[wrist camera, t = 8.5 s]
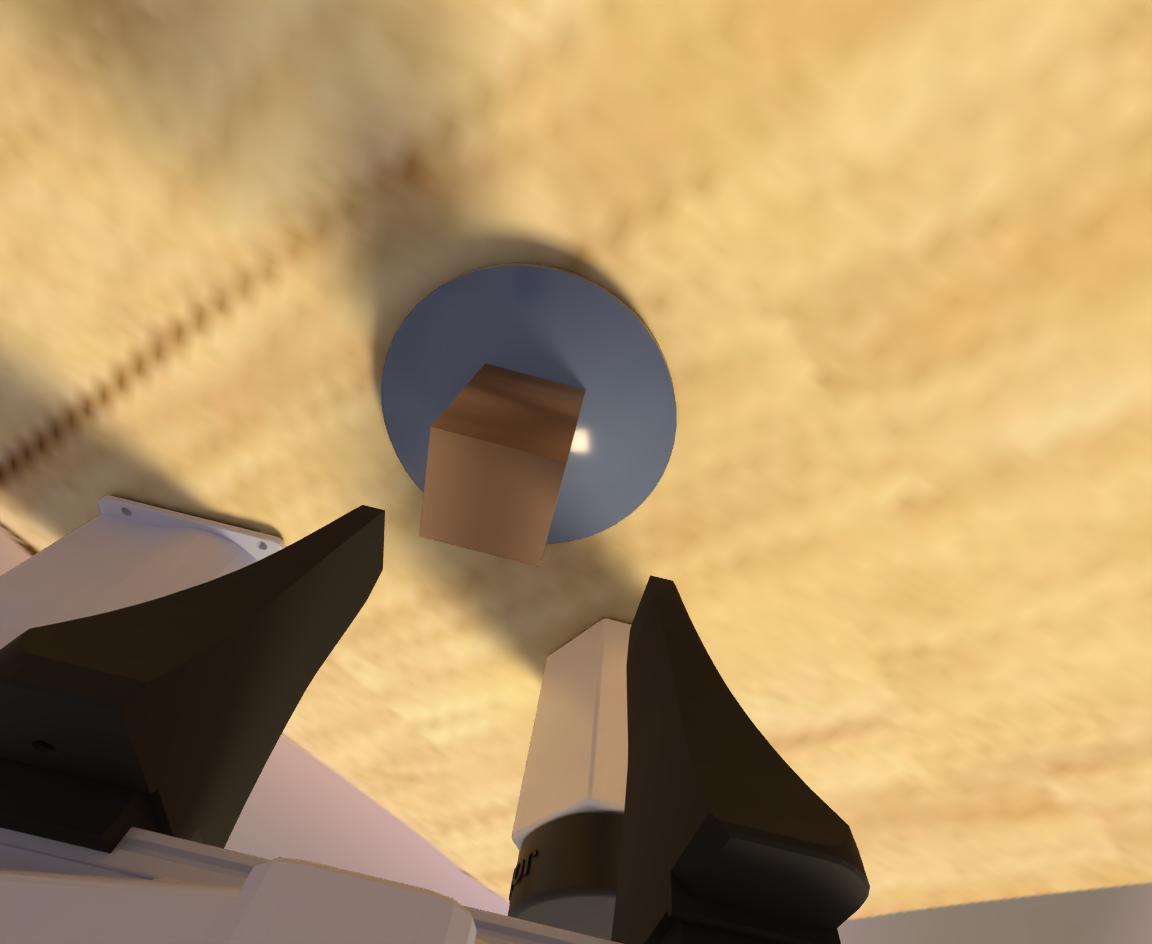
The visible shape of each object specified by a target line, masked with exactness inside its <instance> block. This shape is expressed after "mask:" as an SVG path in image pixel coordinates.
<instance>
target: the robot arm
mask: <svg viewBox="0 0 1152 944" xmlns="http://www.w3.org/2000/svg"><path fill="white" fill-rule="evenodd" d="M98 506H99V510H100V513H101V514H100V515H99V516H97V517H95V518H94V519H92V520H90V521H89V522H87V523H86V524H84V525H82V526H81V527H79V528H77V529H76V530H74V531H73V532H71V533H69V534H68V535H66V536H65V537H63V538H61V539H60V540H58V541H56V542H55V543H53V544H52V545H50V546H48V547H47V548H45V549H43V550H42V551H40V552H39V553H37V554H35V555H34V556H32V557H30V558H29V559H27V560H26V561H24V562H22V563H21V564H19V565H17V566H16V567H14V568H13V569H11V570H9V571H8V572H6V573H5V574H3V575H1V576H0V944H841V942H840V939H839V934H838V931H837V928H838V927H839V926H840V925H841V924H842V923H843V922H844V921H846V920H847V919H848V918H849V917H850V916H851V915H852V914H854V913H855V912H856V911H857V910H858V909H859V908H860V907H861V906H862V904H863V903H864V902H865V900H866V899H867V897H868V894H869V889H870V885H869V882H868V879H867V876H866V873H865V870H864V867H863V863H862V860H861V857H860V854H859V850H858V848H857V845H856V843H855V840H854V838H853V835H852V833H851V830H850V828H849V825H848V824H846V823H845V822H844V821H843V820H842V819H841V818H840V817H839V816H838V815H837V814H836V813H835V812H834V811H833V810H832V809H831V808H830V807H829V806H828V805H827V804H826V803H825V802H824V801H823V800H821V799H820V798H819V797H818V796H817V795H816V794H815V793H814V792H813V791H812V790H811V789H810V788H809V787H808V786H807V785H806V784H805V783H804V782H803V781H802V779H801V778H800V777H799V776H798V775H797V774H796V773H795V772H794V771H793V770H792V769H791V768H790V767H789V765H788V764H787V763H786V762H785V761H784V760H783V759H782V758H781V756H780V755H779V754H778V753H777V752H776V751H775V750H774V748H773V747H772V746H771V745H770V744H769V742H768V741H767V740H766V739H765V737H764V736H763V735H762V734H761V732H760V731H759V730H758V729H757V728H756V726H755V725H754V724H753V722H752V721H751V720H750V718H749V717H748V716H747V714H746V713H745V712H744V710H743V709H742V707H741V706H740V705H739V703H738V702H737V700H736V699H735V697H734V696H733V695H732V693H731V692H730V690H729V688H728V687H727V685H726V684H725V682H724V681H723V679H722V677H721V676H720V674H719V672H718V670H717V669H716V667H715V665H714V664H713V662H712V660H711V658H710V656H709V655H708V653H707V651H706V649H705V647H704V645H703V643H702V641H701V639H700V637H699V636H698V634H697V632H696V630H695V628H694V626H693V623H692V621H691V619H690V617H689V615H688V613H687V611H686V608H685V606H684V604H683V602H682V599H681V597H680V595H679V592H678V590H677V588H676V585H675V584H674V582H673V581H671V580H667V579H663V578H659V577H655V576H650V578H649V581H648V583H647V586H646V589H645V591H644V594H643V596H642V599H641V602H640V604H639V607H638V610H637V612H636V615H635V617H634V620H633V623H632V625H631V628H630V634H629V643H628V653H627V664H626V675H627V722H628V768H627V782H626V795H625V808H624V819H623V831H622V842H621V853H620V863H619V873H618V882H617V892H616V901H615V910H614V919H613V927H612V936H611V941H610V940H605V939H601V938H597V937H593V936H589V935H584V934H580V933H576V932H572V931H568V930H563V929H559V928H555V927H551V926H547V925H542V924H538V923H534V922H530V921H526V920H521V919H517V918H513V917H509V916H505V915H500V914H496V913H492V912H488V911H484V910H479V909H475V908H471V907H467V906H462V905H461V904H459V903H458V902H457V901H455V900H454V899H453V898H450V897H447V896H444V895H442V894H439V893H436V892H434V891H431V890H428V889H423V888H420V887H415V886H411V885H407V884H403V883H399V882H395V881H390V880H386V879H382V878H378V877H373V876H369V875H365V874H361V873H357V872H352V871H348V870H344V869H340V868H336V867H332V866H327V865H323V864H319V863H315V862H310V861H306V860H299V859H290V858H281V857H279V858H276V859H272V860H269V859H265V858H261V857H256V856H252V855H248V854H244V853H240V852H236V851H231V850H227V849H224V847H225V845H226V843H227V841H228V838H229V836H230V834H231V832H232V830H233V828H234V826H235V824H236V822H237V820H238V818H239V815H240V813H241V811H242V809H243V807H244V805H245V803H246V801H247V799H248V797H249V795H250V793H251V791H252V789H253V787H254V785H255V783H256V781H257V779H258V777H259V775H260V774H261V772H262V769H263V768H264V765H265V764H266V762H267V759H268V758H269V756H270V754H271V752H272V750H273V749H274V746H275V745H276V743H277V741H278V739H279V737H280V735H281V734H282V732H283V730H284V728H285V726H286V724H287V722H288V721H289V719H290V717H291V715H292V713H293V712H294V710H295V708H296V706H297V705H298V703H299V701H300V699H301V697H302V696H303V694H304V692H305V690H306V689H307V687H308V685H309V684H310V682H311V681H312V679H313V678H314V676H315V674H316V673H317V671H318V670H319V668H320V667H321V666H322V664H323V663H324V661H325V660H326V658H327V657H328V656H329V654H330V653H331V651H332V650H333V648H334V647H335V646H336V644H337V643H338V641H339V640H340V638H341V637H342V636H343V634H344V633H345V631H346V630H347V628H348V627H349V626H350V624H351V623H352V621H353V620H354V618H355V617H356V615H357V614H358V613H359V611H360V610H361V608H362V607H363V605H364V604H365V602H366V601H367V599H368V597H369V595H370V593H371V591H372V589H373V587H374V586H375V584H376V582H377V580H378V578H379V576H380V574H381V572H382V570H383V550H384V523H385V510H381V509H377V508H373V507H369V506H365V505H362V506H360V507H358V508H356V509H354V510H352V511H351V512H349V513H347V514H345V515H344V516H342V517H340V518H338V519H337V520H335V521H333V522H331V523H330V524H328V525H326V526H324V527H323V528H321V529H319V530H317V531H315V532H314V533H312V534H310V535H308V536H306V537H304V538H303V539H301V540H299V541H297V542H295V543H293V544H291V545H289V546H287V547H285V543H284V542H283V540H281V539H280V538H278V537H276V536H272V535H268V534H264V533H260V532H256V531H252V530H248V529H244V528H240V527H236V526H232V525H228V524H224V523H220V522H215V521H211V520H207V519H203V518H199V517H195V516H191V515H187V514H183V513H179V512H175V511H171V510H167V509H163V508H159V507H155V506H151V505H147V504H143V503H139V502H135V501H131V500H127V499H123V498H119V497H115V496H110V495H107V496H104V497H102V498H101V499H99V501H98ZM263 542H264V543H265V544H264V543H263Z"/></svg>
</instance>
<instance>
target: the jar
mask: <svg viewBox="0 0 1152 944" xmlns="http://www.w3.org/2000/svg"><path fill="white" fill-rule="evenodd" d="M630 628H631V624H627V623H623V622H620V621H616V620H612V619H608V618H604V619H602V620H600V621H599V622H597V623H596V624H595V625H593V626H592V627H590V628H589V629H587V630H586V631H584V632H583V633H581V634H580V635H579V636H577V637H576V638H574V639H573V640H571V641H570V642H568V643H567V644H565V645H564V646H562V647H561V648H559V649H558V650H557V651H555V652H554V653H552V654H551V655H549V656H548V657H547V660H546V665H545V670H544V675H543V680H542V685H541V690H540V695H539V700H538V705H537V711H536V716H535V721H534V726H533V731H532V736H531V741H530V746H529V751H528V756H527V761H526V766H525V771H524V776H523V781H522V786H521V791H520V796H519V801H518V806H517V811H516V816H515V821H514V826H513V831H512V840H513V841H514V843H515V845H516V846H517V848H518V849H519V857H518V862H517V866H516V868H515V869H514V873H513V879H512V884H511V889H510V896H509V900H510V902H509V903H510V906H509V912H508V916H509V917H513V918H517V919H521V920H526V921H530V922H534V923H538V924H542V925H547V926H551V927H555V928H559V929H563V930H568V931H572V932H576V933H580V934H584V935H589V936H593V937H597V938H601V939H605V940H610V941H611V936H612V927H613V919H614V910H615V901H616V892H617V882H618V873H619V863H620V853H621V842H622V831H623V819H624V808H625V795H626V782H627V768H628V722H627V675H626V664H627V653H628V643H629V634H630Z"/></svg>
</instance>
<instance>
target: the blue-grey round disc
mask: <svg viewBox="0 0 1152 944" xmlns="http://www.w3.org/2000/svg"><path fill="white" fill-rule="evenodd" d="M485 363H486V364H490V365H494V366H498V367H502V368H505V369H509V370H513V371H517V372H521V373H524V374H528V375H532V376H536V377H540V378H543V379H547V380H551V381H555V382H559V383H562V384H566V385H570V386H574V387H577V388H581V389H585V390H586V392H585V396H584V399H583V403H582V407H581V411H580V415H579V419H578V423H577V426H576V430H575V434H574V438H573V442H572V446H571V450H570V453H569V457H568V461H567V465H566V469H565V473H564V476H563V480H562V484H561V488H560V492H559V495H558V499H557V503H556V507H555V511H554V514H553V518H552V522H551V526H550V530H549V533H548V537H547V541H546V543H560V542H568V541H573V540H577V539H581V538H585V537H588V536H591V535H594V534H596V533H599V532H602V531H604V530H606V529H607V528H609V527H611V526H613V525H615V524H617V523H618V522H620V521H621V520H623V519H624V518H626V517H627V516H628V515H630V514H631V513H632V512H633V511H634V510H635V509H637V508H638V507H639V506H640V505H641V504H642V503H643V502H644V501H645V499H646V498H647V497H648V496H649V495H650V494H651V492H652V491H653V490H654V488H655V487H656V485H657V483H658V482H659V480H660V479H661V477H662V475H663V473H664V471H665V469H666V466H667V464H668V462H669V459H670V456H671V452H672V449H673V445H674V440H675V432H676V402H675V395H674V389H673V383H672V378H671V375H670V372H669V368H668V365H667V362H666V360H665V358H664V355H663V353H662V351H661V349H660V347H659V345H658V343H657V341H656V340H655V338H654V337H653V335H652V334H651V332H650V330H649V329H648V327H647V326H646V325H645V324H644V322H643V321H642V320H641V319H640V318H639V317H638V315H637V314H636V313H635V312H634V311H633V310H632V309H631V308H630V307H629V306H628V305H626V304H625V303H624V302H623V301H622V300H621V299H620V298H619V297H617V296H616V295H615V294H613V293H612V292H610V291H609V290H607V289H606V288H604V287H603V286H601V285H600V284H598V283H596V282H594V281H592V280H590V279H588V278H586V277H584V276H582V275H580V274H577V273H574V272H571V271H568V270H565V269H562V268H558V267H553V266H548V265H542V264H535V263H508V264H498V265H492V266H488V267H484V268H480V269H476V270H473V271H471V272H469V273H466V274H464V275H461V276H459V277H457V278H455V279H453V280H451V281H449V282H447V283H446V284H444V285H442V286H441V287H439V288H438V289H436V290H434V291H433V292H431V293H430V294H429V295H428V296H427V297H426V298H424V299H423V300H422V301H421V302H420V303H418V304H417V305H416V307H415V308H414V309H413V310H412V311H411V312H410V314H409V315H408V316H407V317H406V318H405V320H404V321H403V323H402V324H401V326H400V328H399V329H398V331H397V332H396V334H395V336H394V338H393V341H392V343H391V345H390V348H389V350H388V353H387V357H386V361H385V364H384V368H383V376H382V385H381V393H382V409H383V415H384V421H385V425H386V428H387V432H388V435H389V438H390V441H391V443H392V445H393V448H394V450H395V452H396V455H397V457H398V458H399V460H400V462H401V463H402V465H403V467H404V468H405V470H406V472H407V473H408V474H409V476H410V477H411V478H412V480H413V481H414V482H415V484H416V485H417V486H418V487H419V488H420V489H421V490H422V491H423V492H424V487H425V478H426V468H427V458H428V448H429V439H430V429H431V426H432V425H433V424H434V422H435V421H436V420H437V419H438V418H439V417H440V415H441V414H442V413H443V412H444V411H445V410H446V408H447V407H448V406H449V405H450V404H451V403H452V401H453V400H454V399H455V398H456V397H457V396H458V394H459V393H460V392H461V391H462V390H463V389H464V388H465V386H466V385H467V384H468V383H469V382H470V381H471V379H472V378H473V377H474V376H475V375H476V374H477V372H478V371H479V370H480V369H481V368H482V367H483V365H484V364H485Z"/></svg>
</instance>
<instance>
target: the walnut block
mask: <svg viewBox="0 0 1152 944" xmlns="http://www.w3.org/2000/svg"><path fill="white" fill-rule="evenodd" d="M585 392H586V390H585V389H581V388H577V387H574V386H570V385H566V384H562V383H559V382H555V381H551V380H547V379H543V378H540V377H536V376H532V375H528V374H524V373H521V372H517V371H513V370H509V369H505V368H502V367H498V366H494V365H490V364H486V363H485V364H484V365H483V367H482V368H481V369H480V370H479V371H478V372H477V374H476V375H475V376H474V377H473V378H472V379H471V381H470V382H469V383H468V384H467V385H466V386H465V388H464V389H463V390H462V391H461V392H460V393H459V394H458V396H457V397H456V398H455V399H454V400H453V401H452V403H451V404H450V405H449V406H448V407H447V408H446V410H445V411H444V412H443V413H442V414H441V415H440V417H439V418H438V419H437V420H436V421H435V422H434V424H433V425H432V426H431V429H430V439H429V448H428V458H427V468H426V478H425V487H424V497H423V507H422V517H421V526H420V536H421V537H425V538H429V539H433V540H436V541H440V542H444V543H448V544H452V545H456V546H460V547H464V548H468V549H472V550H475V551H479V552H483V553H487V554H491V555H495V556H499V557H503V558H507V559H511V560H514V561H518V562H522V563H526V564H530V565H534V566H538V567H540V564H541V560H542V556H543V552H544V549H545V545H546V541H547V537H548V533H549V530H550V526H551V522H552V518H553V514H554V511H555V507H556V503H557V499H558V495H559V492H560V488H561V484H562V480H563V476H564V473H565V469H566V465H567V461H568V457H569V453H570V450H571V446H572V442H573V438H574V434H575V430H576V426H577V423H578V419H579V415H580V411H581V407H582V403H583V399H584V396H585Z"/></svg>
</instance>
